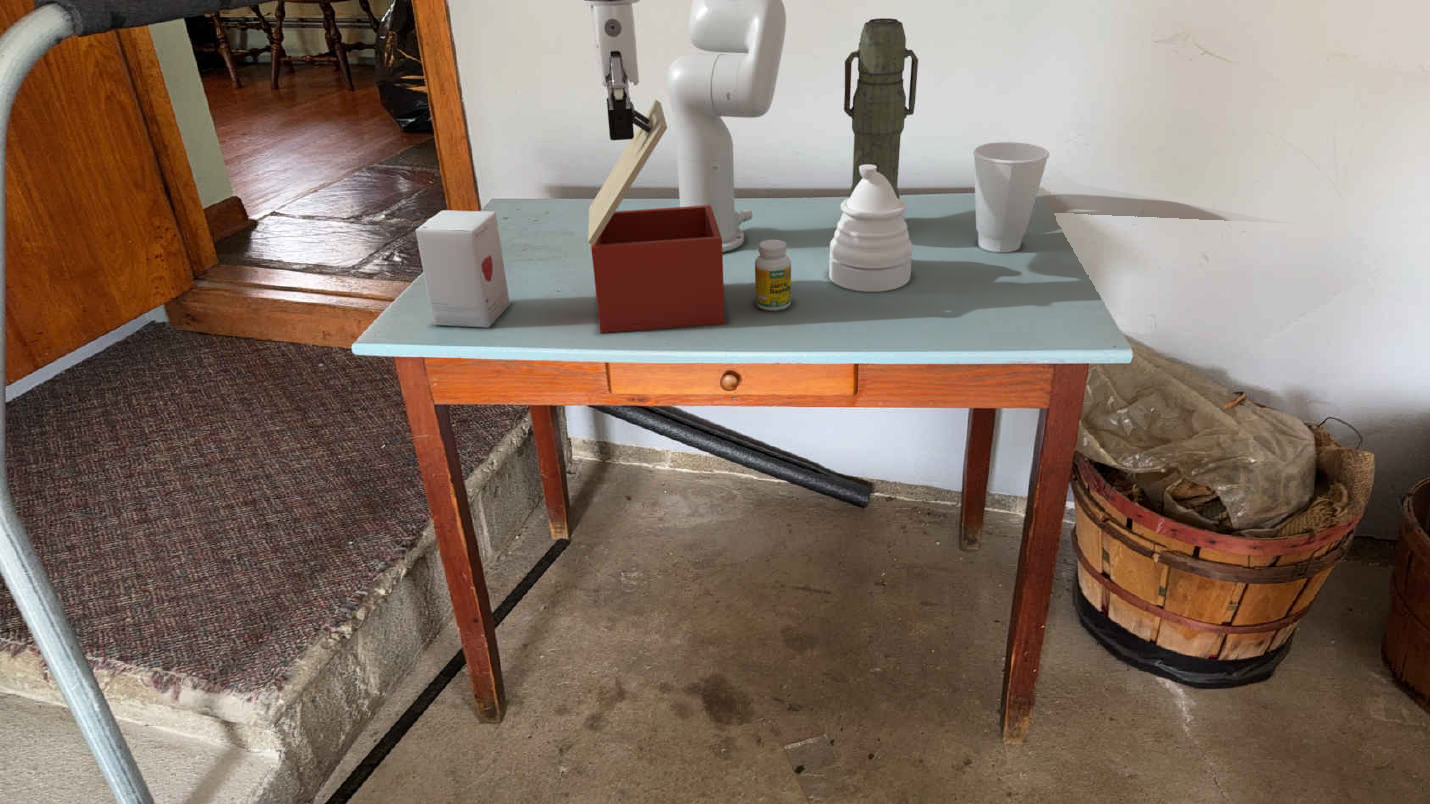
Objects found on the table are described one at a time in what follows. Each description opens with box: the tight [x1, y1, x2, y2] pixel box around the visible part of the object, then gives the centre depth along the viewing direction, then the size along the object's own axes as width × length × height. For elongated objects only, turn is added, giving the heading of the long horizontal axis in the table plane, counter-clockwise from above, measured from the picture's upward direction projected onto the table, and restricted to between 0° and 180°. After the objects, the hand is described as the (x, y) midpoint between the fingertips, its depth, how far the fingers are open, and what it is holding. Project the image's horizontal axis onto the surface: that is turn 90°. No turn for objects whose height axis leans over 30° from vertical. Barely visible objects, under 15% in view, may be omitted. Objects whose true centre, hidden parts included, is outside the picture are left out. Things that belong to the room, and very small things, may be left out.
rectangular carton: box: [415, 209, 510, 329], centre depth 136 cm, size 9×9×15 cm
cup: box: [972, 141, 1050, 253], centre depth 154 cm, size 12×12×16 cm
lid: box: [587, 99, 668, 245], centre depth 128 cm, size 19×15×5 cm
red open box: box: [590, 205, 726, 334], centre depth 137 cm, size 18×15×13 cm
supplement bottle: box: [754, 239, 792, 312], centre depth 137 cm, size 5×5×10 cm
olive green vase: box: [843, 17, 919, 200], centre depth 159 cm, size 9×12×35 cm
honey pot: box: [828, 164, 913, 293], centre depth 143 cm, size 13×13×18 cm
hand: (621, 131), depth 126 cm, fingers closed on lid, 6 cm apart
